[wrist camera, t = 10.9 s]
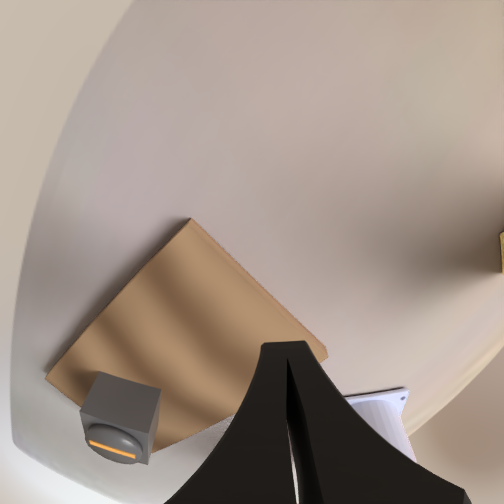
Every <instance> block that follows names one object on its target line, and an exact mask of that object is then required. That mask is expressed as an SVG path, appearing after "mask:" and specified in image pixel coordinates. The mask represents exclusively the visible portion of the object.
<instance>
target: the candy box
mask: <svg viewBox="0 0 504 504" xmlns="http://www.w3.org/2000/svg"><path fill="white" fill-rule="evenodd" d="M500 244H501V256H502V273H503V275H504V231H503V232H502V233H500Z"/></svg>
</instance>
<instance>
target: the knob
mask: <svg viewBox="0 0 504 504" xmlns="http://www.w3.org/2000/svg"><path fill="white" fill-rule="evenodd" d="M160 399H161V389H159V388H155V387H151V386H148V385H144V384H140V383H137V382H134V381H130V380H127V379H123V378H120V377H117V376H114V375H111V374H108V373H105V372H102V371H99V373H98V375H97V377H96V379H95V381H94V383H93V385H92V387H91V389H90V391H89V393H88V395H87V397H86V399H85V401H84V403H83V405H82V407H81V409H80V416H81V420H82V425H83V429H84V433H85V440H86V442H87V444H88V446H89V447H90V448H92V449H93V450H94V451H95V452H96V453H98V454H99V455H101V456H103V457H105V458H107V459H109V460H112V461H114V462H118V463H123V464H135V463H137V462H139V463H142V464H146V465H148V462H149V458H150V454H151V451H152V447H153V443H154V439H155V435H156V431H157V427H158V421H159V410H160Z"/></svg>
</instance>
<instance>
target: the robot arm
mask: <svg viewBox="0 0 504 504" xmlns="http://www.w3.org/2000/svg"><path fill="white" fill-rule="evenodd" d="M408 395H409V390H408V389H407V388H403V389H398V390H392V391H386V392H380V393H374V394H367V395H360V396H353V397H345V398H344V397H343V396H342V394H341V393H340V392H339V391H338V389H337V388H336V387H335V385H334V384H333V383H332V381H331V380H330V378H329V377H328V376H327V374H326V373H325V371H324V370H323V368H322V367H321V365H320V364H319V362H318V361H317V359H316V357H315V356H314V354H313V352H312V350H311V349H310V347H309V345H308V343H307V342H306V341H305V340H300V341H284V342H264V343H263V344H262V345H261V349H260V355H259V360H258V363H257V367H256V370H255V373H254V376H253V378H252V381H251V383H250V386H249V388H248V391H247V393H246V395H245V397H244V399H243V401H242V403H241V405H240V407H239V409H238V411H237V413H236V415H235V417H234V418H233V420H232V422H231V424H230V425H229V427H228V429H227V430H226V432H225V433H224V435H223V436H222V438H221V439H220V441H219V442H218V444H217V445H216V447H215V448H214V449H213V451H212V452H211V453H210V455H209V456H208V457H207V459H206V460H205V461H204V462H203V464H202V465H201V466H200V467H199V468H198V470H197V471H196V472H195V473H194V474H193V475H192V476H191V477H190V478H189V479H188V481H187V482H186V483H185V484H184V485H183V486H182V487H181V488H180V489H179V490H178V491H177V492H176V493H175V494H174V495H173V496H172V497H171V498H170V499H169V500H167V501H166V502H165V503H164V504H297V503H296V495H295V487H294V480H293V472H292V463H291V455H290V446H289V437H288V430H289V435H290V441H291V446H292V452H293V457H294V462H295V468H296V474H297V482H298V495H299V504H472V503H471V501H470V499H469V497H468V496H467V494H466V492H465V490H464V489H462V488H460V487H458V486H456V485H454V484H452V483H450V482H448V481H446V480H444V479H442V478H440V477H439V476H437V475H435V474H433V473H432V472H430V471H428V470H427V469H425V468H423V467H422V466H420V465H419V464H417V461H416V458H415V455H414V453H413V450H412V447H411V445H410V442H409V439H408V437H407V434H406V431H405V429H404V426H403V424H402V421H401V419H400V415H401V412H402V410H403V407H404V405H405V402H406V400H407V397H408ZM287 424H288V428H287Z"/></svg>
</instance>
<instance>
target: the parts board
mask: <svg viewBox="0 0 504 504" xmlns="http://www.w3.org/2000/svg"><path fill="white" fill-rule="evenodd" d="M300 340H305V341H306V342H307V343H308V345H309V347H310V349H311V350H312V352H313V354H314V356H315V357H316V359H317V361H318V362H319V363H321V362H322V361H324V360H325V359H327V358H328V354H327V350H326V347H325V346H324V345H323V344H322V343H321V342H320V341H319V340H318V339H317V338H316V337H315V336H314V335H313V334H312V333H310V332H309V331H308V330H307V329H306V328H305V327H304V326H303V325H302V324H301V323H300V322H299V321H298V320H297V319H296V318H295V317H294V316H293V315H291V314H290V313H289V312H288V311H287V310H286V309H285V308H284V307H283V306H282V305H281V304H280V303H279V302H278V301H277V300H276V299H275V298H274V297H273V296H272V295H271V294H269V293H268V292H267V291H266V290H265V289H264V288H263V287H262V286H261V285H260V284H259V283H258V282H257V281H256V280H255V279H254V278H253V277H252V276H251V275H250V274H249V273H248V272H247V271H246V270H245V269H244V268H243V267H241V266H240V265H239V264H238V263H237V262H236V261H235V260H234V259H233V258H232V257H231V256H230V255H229V254H228V253H227V252H226V251H225V250H224V249H223V248H222V247H221V246H220V245H219V244H218V243H217V242H216V241H215V240H214V239H213V238H212V237H211V236H210V235H209V234H208V233H207V232H206V231H205V230H204V229H203V228H201V227H200V226H199V225H198V224H197V223H196V222H195V221H194V220H193V219H192V218H191V219H190V220H189V221H188V222H187V223H186V224H185V225H184V226H183V227H182V228H181V229H180V230H179V231H178V232H177V233H176V234H175V235H174V236H173V237H172V238H171V239H170V240H169V241H168V242H167V243H166V244H165V245H164V246H163V247H162V248H161V249H160V250H159V251H158V252H157V253H156V254H155V255H154V256H153V257H152V258H151V259H150V260H149V261H148V262H147V263H146V264H145V265H144V266H143V267H142V268H141V269H140V270H139V271H138V273H137V274H136V275H135V276H134V277H133V278H132V279H131V280H130V281H129V282H128V283H127V284H126V285H125V286H124V287H123V288H122V289H121V291H120V292H119V293H118V294H117V295H116V296H115V297H114V298H113V299H112V300H111V301H110V302H109V303H108V305H107V306H106V307H105V308H104V309H103V310H102V311H101V312H100V313H99V314H98V316H97V317H96V318H95V319H94V320H93V321H92V322H91V323H90V325H89V326H88V327H87V328H86V329H85V330H84V331H83V332H82V334H81V335H80V336H79V337H78V338H77V339H76V340H75V342H74V343H73V344H72V345H71V346H70V347H69V349H68V350H67V351H66V352H65V353H64V354H63V356H62V357H61V358H60V359H59V360H58V362H57V363H56V364H55V365H54V366H53V368H52V369H51V370H50V371H49V373H48V374H47V376H46V377H45V379H46V380H47V381H48V382H49V383H51V384H52V385H53V386H54V387H56V388H57V389H58V390H59V391H60V392H62V393H63V394H64V395H66V396H67V397H68V398H69V399H71V400H72V401H73V402H75V403H76V404H77V405H79V406H80V407H82V405H83V403H84V401H85V399H86V397H87V395H88V393H89V391H90V389H91V387H92V385H93V383H94V381H95V379H96V377H97V375H98V373H99V371H102V372H105V373H108V374H111V375H114V376H117V377H120V378H123V379H127V380H130V381H134V382H137V383H140V384H144V385H148V386H151V387H155V388H159V389H161V399H160V410H159V421H158V427H157V431H156V435H155V439H154V443H153V447H152V451H151V453H154V452H156V451H158V450H161V449H163V448H165V447H168V446H170V445H172V444H174V443H177V442H179V441H181V440H183V439H185V438H187V437H189V436H192V435H194V434H196V433H198V432H200V431H202V430H204V429H206V428H208V427H210V426H212V425H214V424H216V423H218V422H220V421H222V420H224V419H226V418H228V417H229V416H231V415H233V414H235V413H237V411H238V409H239V407H240V405H241V403H242V401H243V399H244V397H245V395H246V393H247V391H248V388H249V386H250V383H251V381H252V378H253V376H254V373H255V370H256V367H257V363H258V360H259V355H260V349H261V345H262V344H263V343H264V342H284V341H300Z"/></svg>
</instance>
